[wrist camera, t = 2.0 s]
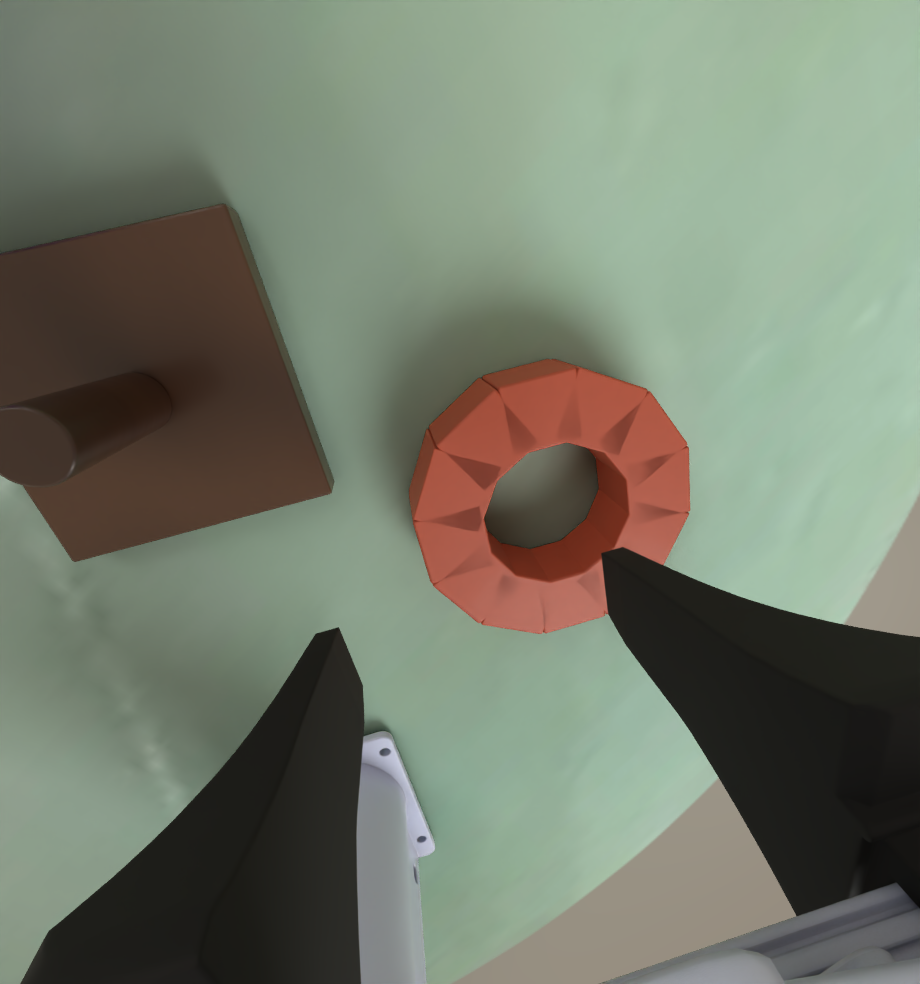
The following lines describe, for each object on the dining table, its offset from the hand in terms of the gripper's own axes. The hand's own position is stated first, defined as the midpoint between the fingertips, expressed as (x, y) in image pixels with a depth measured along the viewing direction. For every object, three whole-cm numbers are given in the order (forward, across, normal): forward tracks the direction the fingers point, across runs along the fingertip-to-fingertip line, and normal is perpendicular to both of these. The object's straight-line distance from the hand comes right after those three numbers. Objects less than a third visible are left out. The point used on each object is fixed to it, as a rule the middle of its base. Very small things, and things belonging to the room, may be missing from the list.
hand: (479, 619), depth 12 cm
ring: (+7, -4, 0) cm, 8 cm away
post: (+7, +8, -7) cm, 13 cm away
